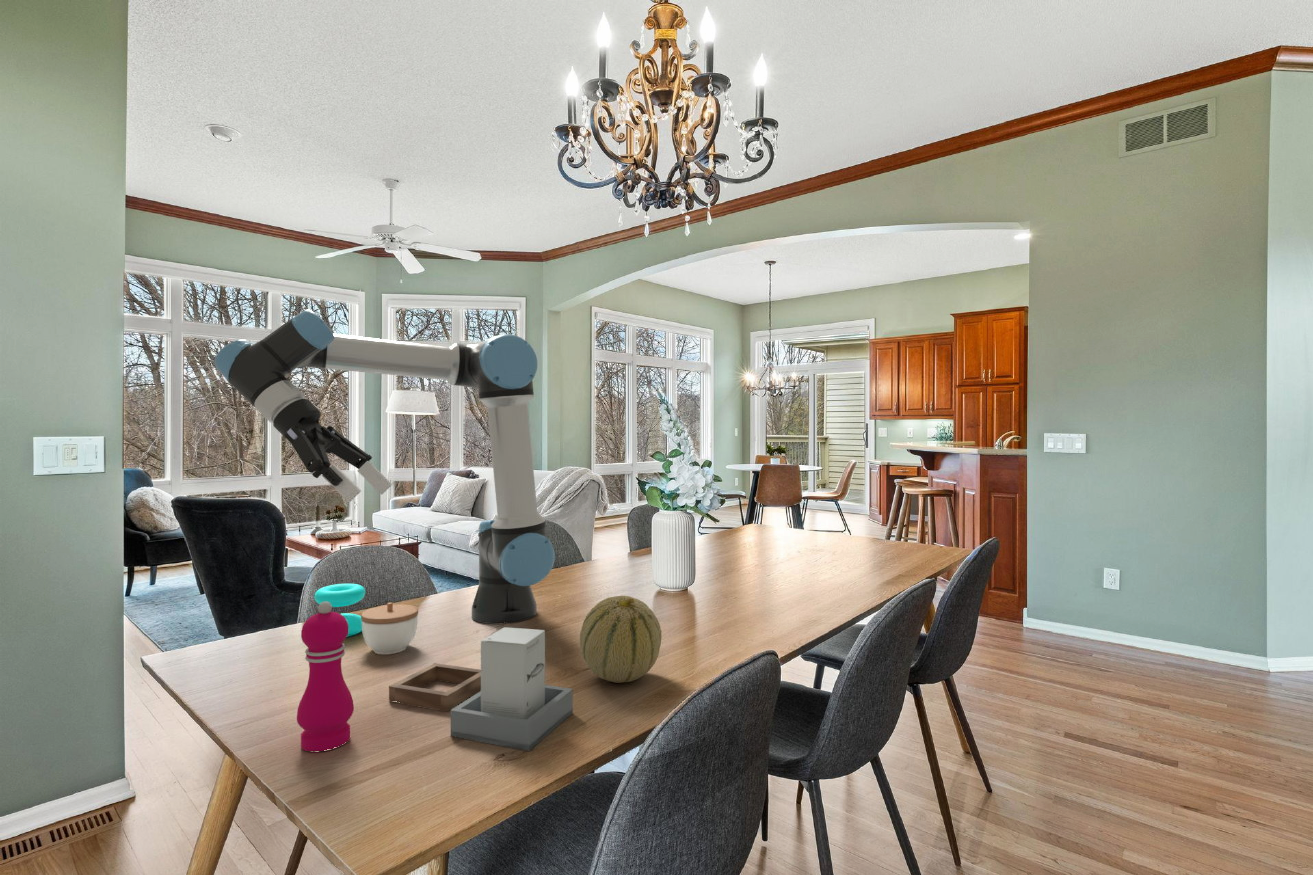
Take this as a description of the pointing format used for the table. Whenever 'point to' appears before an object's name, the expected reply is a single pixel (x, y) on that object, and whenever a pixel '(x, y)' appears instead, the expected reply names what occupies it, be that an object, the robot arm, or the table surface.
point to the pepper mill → (325, 683)
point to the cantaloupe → (620, 639)
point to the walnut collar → (416, 695)
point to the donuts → (343, 602)
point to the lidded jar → (389, 627)
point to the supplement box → (513, 672)
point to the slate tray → (512, 721)
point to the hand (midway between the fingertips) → (371, 492)
